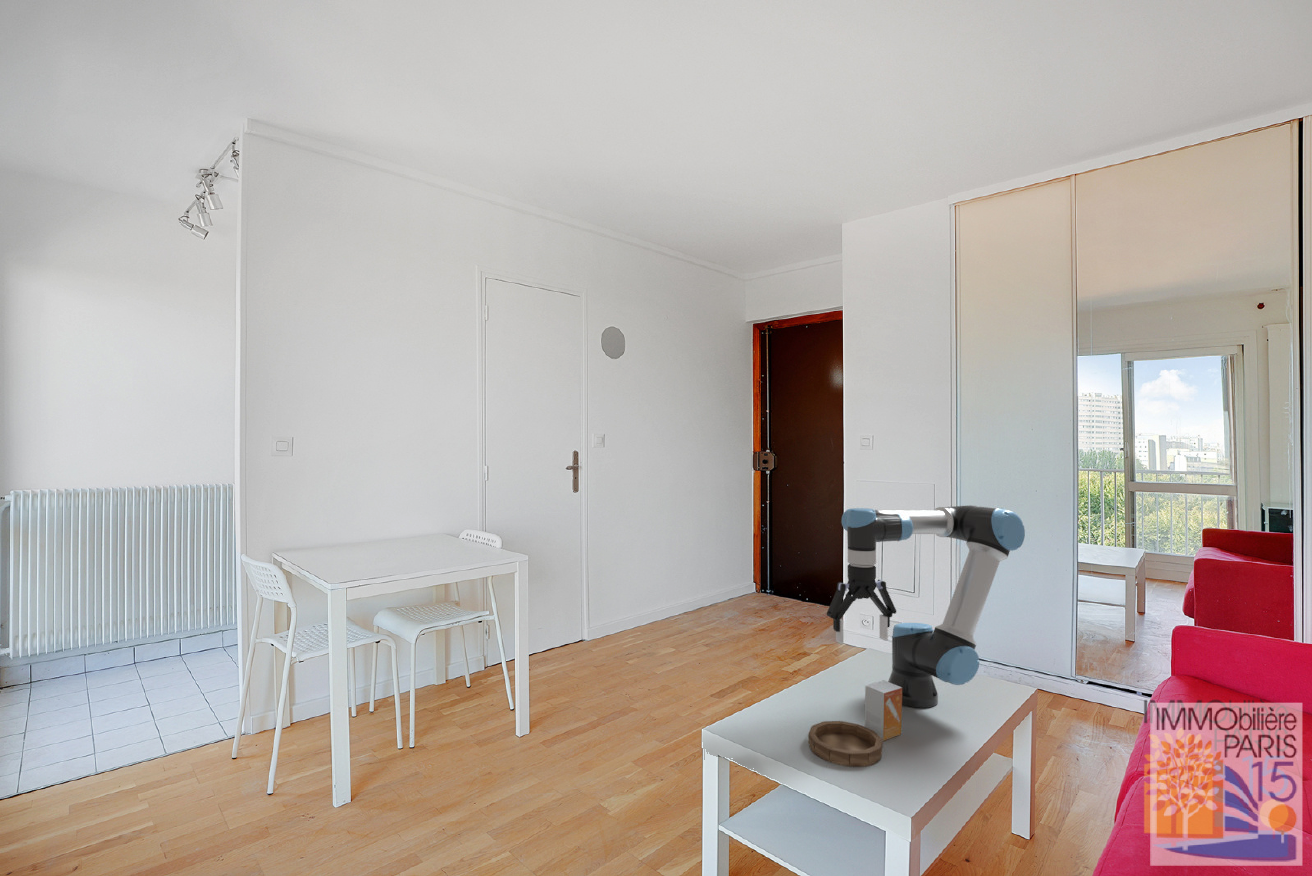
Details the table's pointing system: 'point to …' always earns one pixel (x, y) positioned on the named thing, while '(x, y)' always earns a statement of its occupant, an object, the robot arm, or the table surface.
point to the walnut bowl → (845, 743)
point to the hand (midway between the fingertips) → (861, 641)
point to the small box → (883, 709)
